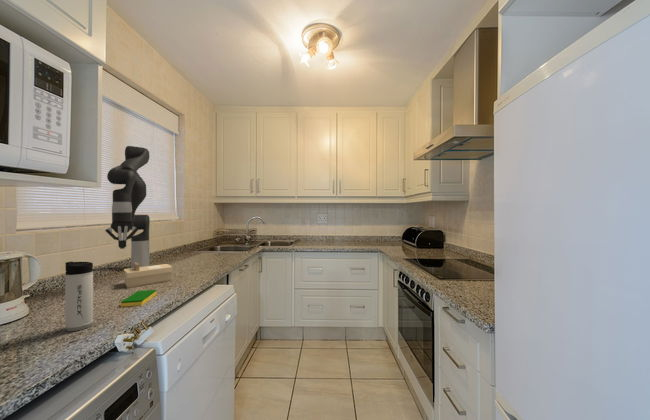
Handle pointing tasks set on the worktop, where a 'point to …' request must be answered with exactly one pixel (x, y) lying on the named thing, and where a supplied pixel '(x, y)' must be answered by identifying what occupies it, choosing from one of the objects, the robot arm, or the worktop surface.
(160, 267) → the lid
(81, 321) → the travel mug
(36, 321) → the worktop surface
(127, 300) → the dish sponge
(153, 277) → the box
